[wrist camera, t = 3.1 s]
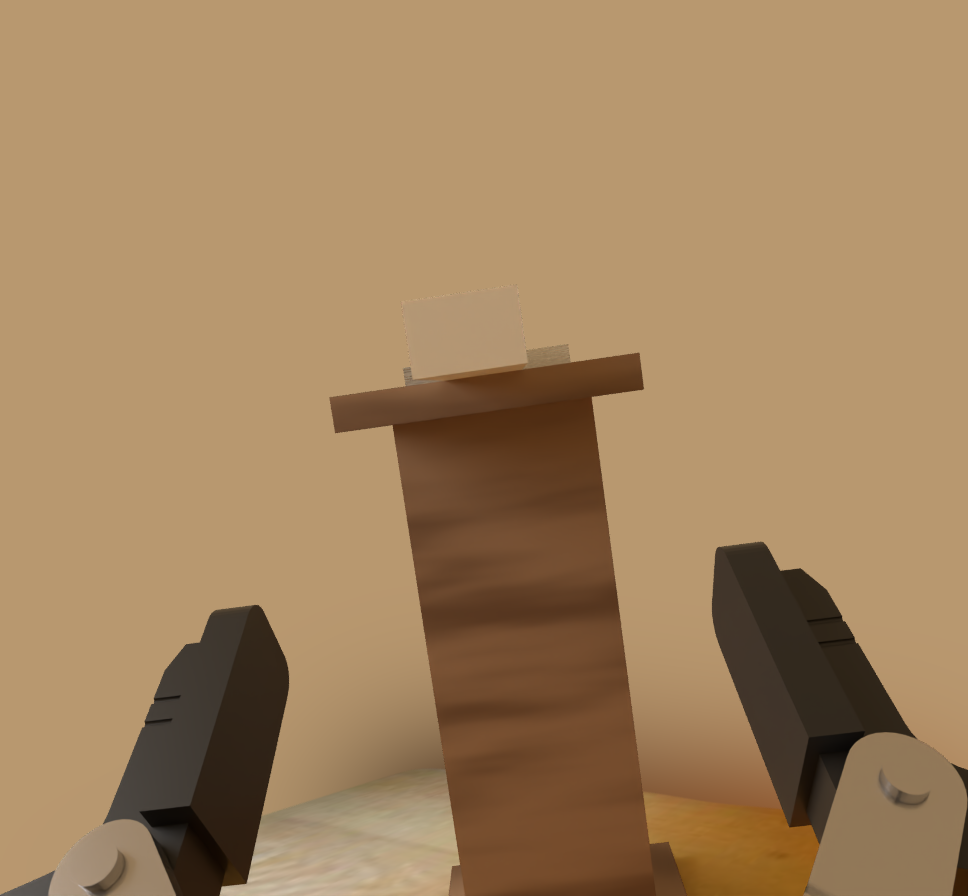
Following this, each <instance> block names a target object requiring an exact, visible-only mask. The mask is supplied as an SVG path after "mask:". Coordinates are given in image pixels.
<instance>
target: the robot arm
mask: <svg viewBox="0 0 968 896" xmlns="http://www.w3.org/2000/svg"><path fill="white" fill-rule="evenodd" d="M712 617H713V623H714V628H715V633H716V637H717V640H718V643H719V646H720V648H721V651H722V653H723V656H724V658H725V661H726V664H727V666H728V669H729V672H730V674H731V677H732V679H733V682H734V684H735V687H736V690H737V692H738V695H739V698H740V700H741V703H742V705H743V708H744V711H745V713H746V716H747V718H748V721H749V723H750V726H751V729H752V731H753V734H754V736H755V739H756V741H757V744H758V746H759V749H760V752H761V755H762V757H763V760H764V762H765V765H766V767H767V770H768V772H769V775H770V778H771V780H772V783H773V786H774V788H775V791H776V793H777V796H778V799H779V801H780V804H781V806H782V809H783V812H784V814H785V817H786V819H787V822H788V824H789V827H797V826H806V825H812V827H813V829H814V832H815V834H816V837H817V839H818V842H819V844H820V846H819V849H818V853H817V856H816V859H815V862H814V865H813V869H812V872H811V875H810V878H809V881H808V884H807V887H806V889H805V892H804V895H803V896H968V770H966V769H964V768H961V767H958V766H956V765H954V764H952V763H950V762H949V761H948V760H947V759H946V758H945V757H944V756H943V755H942V754H940V753H939V752H938V751H936V750H935V749H934V748H932V747H930V746H929V745H927V744H926V743H924V742H922V741H920V740H918V739H917V738H916V737H915V736H914V735H913V734H912V733H911V731H910V730H909V729H908V727H907V725H906V724H905V723H904V721H903V719H902V717H901V716H900V714H899V712H898V711H897V709H896V707H895V705H894V704H893V702H892V700H891V699H890V697H889V695H888V694H887V692H886V690H885V689H884V687H883V685H882V683H881V682H880V680H879V678H878V677H877V675H876V673H875V671H874V670H873V668H872V666H871V665H870V663H869V661H868V660H867V658H866V656H865V654H864V653H863V651H862V649H861V648H860V646H859V644H858V643H856V642H855V638H854V636H853V634H852V632H851V631H850V629H849V627H848V625H847V624H846V622H845V621H844V622H843V620H842V615H841V613H840V612H839V610H838V608H837V607H836V605H835V603H834V602H833V600H832V598H831V596H830V595H829V593H828V591H827V590H826V589H825V588H824V587H823V586H821V585H820V584H819V583H818V582H817V581H815V580H814V579H813V578H812V577H810V576H809V575H808V574H806V573H805V572H804V571H803V570H802V569H792V570H784V571H780V570H779V568H778V566H777V564H776V562H775V560H774V558H773V556H772V554H771V553H770V551H769V549H768V547H767V546H766V545H765V544H764V543H763V542H755V543H747V544H739V545H732V546H724V547H718V548H717V550H716V554H715V566H714V582H713V598H712ZM288 690H289V672H288V666H287V662H286V659H285V656H284V654H283V652H282V650H281V647H280V645H279V643H278V641H277V639H276V637H275V635H274V633H273V630H272V628H271V626H270V624H269V622H268V620H267V618H266V616H265V613H264V611H263V610H262V608H261V607H260V606H259V605H252V606H245V607H236V608H229V609H221V610H215V611H214V612H213V613H212V614H211V615H210V617H209V619H208V622H207V625H206V627H205V630H204V633H203V636H202V638H201V641H200V643H193V644H186V645H185V646H184V648H183V649H182V650H181V651H180V653H179V654H178V655H177V656H176V657H175V659H174V660H173V661H172V662H171V664H170V665H169V666H168V667H167V669H166V670H165V672H164V674H163V677H162V679H161V682H160V684H159V687H158V689H157V692H156V694H155V697H154V704H152V705H151V707H150V709H149V712H148V714H147V717H146V720H145V727H144V728H142V730H141V732H140V735H139V737H138V740H137V742H136V745H135V747H134V750H133V752H132V755H131V757H130V760H129V763H128V765H127V768H126V770H125V773H124V775H123V777H122V780H121V783H120V785H119V788H118V790H117V793H116V795H115V798H114V800H113V803H112V805H111V808H110V810H109V813H108V815H107V817H106V819H105V821H104V823H103V825H101V826H99V827H97V828H95V829H94V830H92V831H91V832H89V833H87V835H85V836H84V837H82V838H81V839H80V840H79V841H78V842H77V843H76V844H75V845H74V846H73V847H72V848H71V849H70V850H69V851H68V852H67V854H66V855H65V856H64V858H63V859H62V861H61V862H60V863H59V865H58V867H57V869H56V870H55V871H53V872H51V873H49V874H47V875H45V876H42V877H40V878H38V879H36V880H33V881H31V882H29V883H26V884H24V885H22V886H20V887H18V888H15V889H13V890H10V891H8V892H6V893H4V894H1V895H0V896H219V895H220V891H221V887H222V886H231V885H240V884H247V879H248V875H249V870H250V866H251V861H252V856H253V852H254V847H255V843H256V838H257V834H258V829H259V824H260V820H261V815H262V811H263V806H264V801H265V797H266V792H267V788H268V783H269V778H270V774H271V769H272V764H273V760H274V756H275V751H276V746H277V742H278V737H279V733H280V728H281V723H282V719H283V714H284V710H285V705H286V701H287V696H288Z"/></svg>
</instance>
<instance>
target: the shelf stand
mask: <svg viewBox="0 0 968 896" xmlns="http://www.w3.org/2000/svg"><path fill="white" fill-rule="evenodd" d="M643 389H644V387H643V379H642V370H641V363H640V354H639V353H634V354H627V355H620V356H613V357H606V358H599V359H593V360H586V361H579V362H572V363H565V364H558V365H551V366H544V367H537V368H530V369H523V370H516V371H509V372H502V373H495V374H488V375H481V376H475V377H468V378H461V379H454V380H447V381H440V382H433V383H426V384H419V385H412V386H405V387H398V388H391V389H385V390H377V391H370V392H363V393H357V394H350V395H343V396H336V397H330V404H331V410H332V416H333V422H334V428H335V433H340V432H346V431H354V430H361V429H368V428H375V427H381V426H389V425H393V431H394V437H395V444H396V450H397V457H398V463H399V470H400V476H401V483H402V489H403V495H404V502H405V508H406V515H407V522H408V528H409V535H410V541H411V548H412V554H413V561H414V567H415V574H416V580H417V587H418V593H419V600H420V606H421V613H422V619H423V626H424V632H425V639H426V645H427V652H428V658H429V665H430V671H431V678H432V684H433V691H434V697H435V704H436V709H437V717H438V723H439V729H440V736H441V743H442V749H443V756H444V762H445V769H446V775H447V782H448V788H449V795H450V801H451V808H452V814H453V821H454V827H455V834H456V840H457V847H458V853H459V860H460V865H459V866H452V872H451V881H450V889H449V896H687V894H686V891H685V888H684V885H683V882H682V879H681V877H680V874H679V871H678V868H677V865H676V862H675V859H674V857H673V854H672V851H671V848H670V845H669V842H665V843H656V844H649V837H648V829H647V822H646V814H645V806H644V798H643V791H642V783H641V776H640V768H639V761H638V752H637V744H636V737H635V730H634V721H633V714H632V706H631V698H630V690H629V683H628V675H627V667H626V660H625V652H624V645H623V636H622V630H621V621H620V613H619V606H618V598H617V590H616V582H615V575H614V568H613V559H612V552H611V544H610V536H609V528H608V521H607V513H606V505H605V498H604V490H603V482H602V474H601V468H600V459H599V452H598V443H597V436H596V428H595V421H594V413H593V405H592V397H594V396H601V395H608V394H615V393H622V392H629V391H636V390H643Z"/></svg>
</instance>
